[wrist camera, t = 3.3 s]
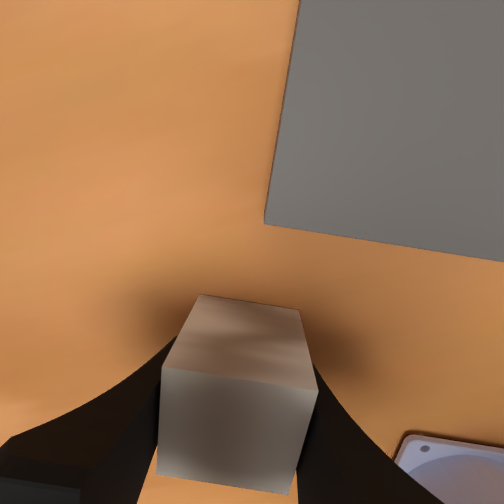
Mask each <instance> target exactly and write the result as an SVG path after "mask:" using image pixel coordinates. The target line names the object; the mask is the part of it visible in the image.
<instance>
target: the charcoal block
mask: <svg viewBox="0 0 504 504" xmlns="http://www.w3.org/2000/svg"><path fill="white" fill-rule="evenodd" d="M264 224H267V225H274V226H280V227H286V228H293V229H299V230H305V231H311V232H318V233H324V234H330V235H336V236H343V237H349V238H355V239H362V240H368V241H374V242H380V243H387V244H393V245H399V246H406V247H412V248H418V249H424V250H431V251H437V252H443V253H450V254H456V255H462V256H468V257H475V258H481V259H487V260H493V261H500V262H504V0H299V6H298V12H297V18H296V24H295V30H294V36H293V42H292V48H291V54H290V60H289V66H288V72H287V78H286V84H285V90H284V96H283V102H282V108H281V114H280V120H279V126H278V132H277V138H276V144H275V150H274V156H273V162H272V168H271V174H270V180H269V186H268V192H267V198H266V204H265V210H264Z"/></svg>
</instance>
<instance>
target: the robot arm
mask: <svg viewBox="0 0 504 504" xmlns="http://www.w3.org/2000/svg"><path fill="white" fill-rule="evenodd" d="M177 337H178V335H177V336H176V337H174V338H173V339H172V340H171V341H170V342H169V343H168V344H167V345H166V346H165V347H164V348H163V349H162V350H161V351H160V352H158V353H157V354H156V355H155V356H154V357H153V358H151V359H150V360H149V361H148V362H147V363H146V364H144V365H143V366H142V367H140V368H139V369H138V370H137V371H135V372H134V373H133V374H131V375H130V376H129V377H127V378H126V379H125V380H123V381H122V382H120V383H119V384H117V385H116V386H114V387H113V388H111V389H110V390H108V391H106V392H105V393H103V394H101V395H100V396H98V397H96V398H95V399H93V400H91V401H89V402H88V403H86V404H84V405H82V406H80V407H78V408H76V409H74V410H72V411H70V412H68V413H66V414H64V415H62V416H60V417H58V418H56V419H54V420H51V421H49V422H47V423H45V424H42V425H40V426H37V427H35V428H32V429H30V430H28V431H25V432H23V433H20V434H18V435H15V436H13V437H11V438H10V439H9V440H8V441H7V442H5V443H4V444H3V445H2V446H1V447H0V504H137V501H138V498H139V495H140V492H141V489H142V486H143V483H144V480H145V478H146V475H147V472H148V469H149V466H150V463H151V460H152V457H153V455H154V452H155V450H156V447H157V445H158V429H159V411H160V392H161V373H162V365H163V363H164V362H165V360H166V358H167V356H168V354H169V352H170V350H171V348H172V346H173V344H174V342H175V341H176V339H177ZM311 362H312V361H311ZM312 366H313V370H314V374H315V379H316V383H317V387H318V391H319V392H318V395H317V399H316V402H315V405H314V409H313V412H312V416H311V419H310V422H309V426H308V429H307V433H306V436H305V440H304V443H303V446H302V450H301V453H300V457H299V460H298V463H297V467H296V473H297V488H298V504H504V449H503V448H497V447H490V446H484V445H478V444H471V443H465V442H459V441H452V440H446V439H440V438H433V437H427V436H421V435H409V436H407V437H406V438H405V439H404V441H403V443H402V446H401V448H400V450H399V452H398V454H397V457H396V459H395V461H393V460H392V459H390V458H389V457H388V456H387V455H386V454H385V453H384V452H383V451H382V450H381V449H380V448H379V447H378V446H377V445H376V444H375V443H374V442H373V441H372V440H371V439H370V438H369V437H368V436H367V435H366V434H365V433H364V432H363V430H362V429H361V428H360V427H359V426H358V425H357V424H356V423H355V421H354V420H353V419H352V418H351V417H350V416H349V414H348V413H347V412H346V411H345V409H344V408H343V407H342V405H341V404H340V403H339V402H338V400H337V399H336V397H335V396H334V395H333V393H332V392H331V390H330V389H329V387H328V386H327V385H326V383H325V382H324V380H323V379H322V377H321V375H320V374H319V372H318V371H317V369H316V368H315V366H314V364H313V363H312Z"/></svg>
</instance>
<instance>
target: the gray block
mask: <svg viewBox="0 0 504 504" xmlns="http://www.w3.org/2000/svg"><path fill="white" fill-rule="evenodd" d="M318 392H319V391H318V387H317V383H316V379H315V374H314V370H313V366H312V362H311V358H310V354H309V350H308V346H307V341H306V337H305V333H304V329H303V325H302V321H301V317H300V313H299V310H297V309H290V308H284V307H278V306H271V305H265V304H259V303H252V302H246V301H240V300H233V299H227V298H221V297H214V296H208V295H202V294H200V295H199V297H198V298H197V300H196V302H195V304H194V306H193V308H192V310H191V312H190V314H189V316H188V318H187V320H186V321H185V323H184V325H183V327H182V329H181V331H180V333H179V335H178V337H177V339H176V341H175V342H174V344H173V346H172V348H171V350H170V352H169V354H168V356H167V358H166V360H165V362H164V363H163V365H162V373H161V392H160V411H159V429H158V448H157V467H156V474H157V475H163V476H169V477H176V478H182V479H189V480H195V481H201V482H208V483H214V484H220V485H227V486H233V487H239V488H246V489H252V490H258V491H265V492H271V493H277V494H284V495H288V494H289V491H290V487H291V484H292V481H293V477H294V474H295V470H296V467H297V463H298V460H299V457H300V453H301V450H302V446H303V443H304V440H305V436H306V433H307V429H308V426H309V422H310V419H311V416H312V412H313V409H314V405H315V402H316V399H317V395H318Z"/></svg>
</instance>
